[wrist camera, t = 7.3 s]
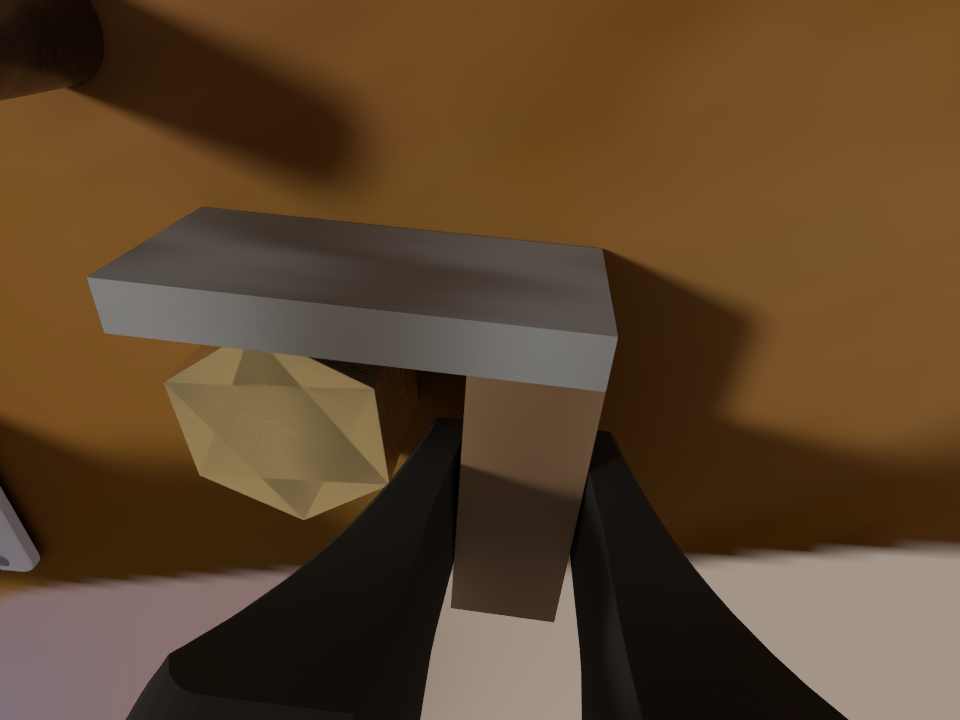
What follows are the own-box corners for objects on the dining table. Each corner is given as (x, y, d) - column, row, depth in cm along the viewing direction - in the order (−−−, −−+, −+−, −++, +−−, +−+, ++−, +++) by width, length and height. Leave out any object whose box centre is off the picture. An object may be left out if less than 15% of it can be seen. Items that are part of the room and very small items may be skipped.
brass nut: (312, 446, 15) (265, 536, 13) (203, 329, 14) (125, 405, 11) (458, 377, 14) (436, 465, 11) (353, 236, 12) (300, 300, 10)
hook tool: (249, 461, 16) (179, 570, 13) (201, 206, 12) (86, 277, 9) (554, 501, 15) (554, 622, 12) (602, 248, 12) (617, 336, 9)
